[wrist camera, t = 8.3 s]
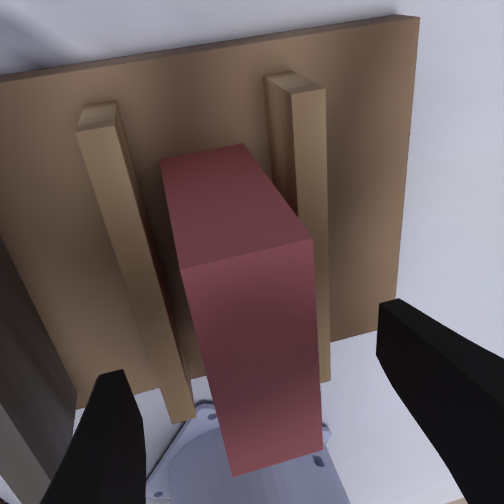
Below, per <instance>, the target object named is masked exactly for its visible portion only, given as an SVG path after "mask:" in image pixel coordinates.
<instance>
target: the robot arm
mask: <svg viewBox="0 0 504 504" xmlns="http://www.w3.org/2000/svg"><path fill="white" fill-rule="evenodd" d="M376 356H377V358H378V360H379V362H380V364H381V366H382V368H383V370H384V372H385V374H386V376H387V377H388V379H389V381H390V383H391V385H392V387H393V388H394V390H395V391H396V393H397V394H398V396H399V397H400V399H401V400H402V401H403V403H404V404H405V406H406V407H407V409H408V410H409V412H410V413H411V415H412V416H413V417H414V419H415V420H416V422H417V423H418V425H419V426H420V428H421V429H422V430H423V432H424V433H425V435H426V436H427V438H428V439H429V440H430V442H431V443H432V445H433V446H434V448H435V449H436V451H437V452H438V453H439V455H440V457H441V458H442V460H443V461H444V463H445V464H446V466H447V468H448V469H449V471H450V473H451V474H452V476H453V478H454V480H455V481H456V483H457V485H458V487H459V489H460V490H461V492H462V494H463V496H464V497H465V499H466V501H467V503H468V504H504V358H502V357H500V356H498V355H496V354H494V353H492V352H490V351H488V350H486V349H484V348H482V347H481V346H479V345H477V344H475V343H473V342H472V341H470V340H468V339H466V338H464V337H463V336H461V335H459V334H458V333H456V332H454V331H452V330H451V329H449V328H447V327H446V326H444V325H442V324H441V323H439V322H437V321H436V320H434V319H432V318H431V317H429V316H428V315H426V314H424V313H423V312H421V311H419V310H418V309H416V308H414V307H413V306H411V305H410V304H408V303H406V302H404V301H403V300H401V299H399V298H398V299H394V300H390V301H386V302H382V303H379V311H378V328H377V345H376ZM195 411H196V417H197V418H193V419H190V420H187V421H186V423H185V424H184V426H183V427H182V429H181V430H180V432H179V433H178V435H177V436H176V438H175V439H174V441H173V442H172V444H171V445H170V447H169V448H168V450H167V451H166V453H165V454H164V456H163V457H162V459H161V460H160V462H159V463H158V465H157V466H156V468H155V469H154V471H153V472H152V474H151V475H150V477H149V478H148V480H147V481H146V449H145V438H144V429H143V419H142V416H141V414H140V411H139V408H138V406H137V403H136V401H135V398H134V395H133V393H132V390H131V388H130V385H129V383H128V380H127V377H126V375H125V372H124V370H123V369H120V370H116V371H112V372H108V373H104V374H100V375H99V376H98V377H97V379H96V381H95V384H94V387H93V390H92V392H91V395H90V397H89V400H88V403H87V405H86V408H85V410H84V412H83V415H82V417H81V420H80V422H79V424H78V427H77V429H76V431H75V433H74V435H73V438H72V440H71V442H70V444H69V446H68V449H67V451H66V453H65V455H64V457H63V459H62V461H61V463H60V465H59V467H58V469H57V471H56V473H55V475H54V477H53V479H52V481H51V482H50V484H49V486H48V488H47V490H46V492H45V494H44V496H43V498H42V499H41V501H40V503H39V504H146V498H150V499H161V500H171V504H350V501H349V499H348V497H347V494H346V492H345V490H344V487H343V485H342V483H341V481H340V478H339V476H338V474H337V471H336V469H335V467H334V464H333V462H332V460H331V457H330V455H329V453H328V450H327V448H326V446H325V443H326V442H327V441H328V440H329V439H330V437H331V432H330V429H329V428H327V427H322V434H323V450H321V451H318V452H315V453H311V454H308V455H305V456H302V457H298V458H295V459H292V460H288V461H285V462H282V463H279V464H275V465H272V466H269V467H266V468H262V469H259V470H256V471H253V472H249V473H246V474H243V475H239V476H236V477H232V473H231V469H230V465H229V462H228V458H227V454H226V450H225V446H224V442H223V438H222V434H221V430H220V426H219V422H218V418H217V414H216V410H215V406H214V405H211V404H200V405H198V406H197V407H196V408H195ZM212 413H213V414H212Z"/></svg>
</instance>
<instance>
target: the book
mask: <svg viewBox="0 0 504 504" xmlns="http://www.w3.org/2000/svg"><path fill="white" fill-rule="evenodd" d="M159 162H160V168H161V173H162V178H163V183H164V189H165V194H166V199H167V205H168V210H169V215H170V220H171V226H172V231H173V236H174V242H175V247H176V252H177V257H178V263H179V268H180V272H181V276H182V280H183V284H184V288H185V292H186V296H187V300H188V304H189V308H190V312H191V316H192V320H193V324H194V328H195V331H196V335H197V339H198V343H199V347H200V351H201V355H202V359H203V363H204V367H205V371H206V375H207V379H208V383H209V387H210V391H211V395H212V398H213V402H214V406H215V410H216V414H217V418H218V422H219V426H220V430H221V434H222V438H223V442H224V446H225V450H226V454H227V458H228V462H229V465H230V469H231V473H232V477H236V476H239V475H243V474H246V473H249V472H253V471H256V470H259V469H262V468H266V467H269V466H272V465H275V464H279V463H282V462H285V461H288V460H292V459H295V458H298V457H302V456H305V455H308V454H311V453H315V452H318V451H321V450H323V434H322V413H321V392H320V372H319V351H318V330H317V309H316V289H315V268H314V247H313V238H312V236H311V235H310V234H309V232H308V231H307V229H306V228H305V227H304V225H303V224H302V223H301V221H300V220H299V219H298V217H297V216H296V214H295V213H294V212H293V210H292V209H291V208H290V206H289V205H288V203H287V202H286V201H285V199H284V198H283V197H282V195H281V194H280V193H279V191H278V190H277V188H276V187H275V186H274V184H273V183H272V182H271V180H270V179H269V178H268V176H267V175H266V173H265V172H264V171H263V169H262V168H261V167H260V165H259V164H258V163H257V161H256V160H255V158H254V157H253V156H252V154H251V153H250V152H249V150H248V149H247V148H246V146H245V145H244V143H241V144H236V145H231V146H226V147H221V148H216V149H211V150H206V151H201V152H196V153H191V154H186V155H181V156H176V157H170V158H165V159H160V160H159Z"/></svg>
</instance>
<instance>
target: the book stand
mask: <svg viewBox="0 0 504 504" xmlns="http://www.w3.org/2000/svg"><path fill="white" fill-rule="evenodd" d="M419 24H420V17H414V16H406V15H391V16H384V17H378V18H371V19H365V20H358V21H352V22H345V23H339V24H333V25H326V26H320V27H313V28H307V29H300V30H294V31H287V32H281V33H274V34H268V35H261V36H255V37H248V38H242V39H235V40H229V41H222V42H216V43H209V44H203V45H196V46H190V47H183V48H177V49H171V50H164V51H158V52H151V53H145V54H138V55H132V56H125V57H119V58H112V59H106V60H99V61H93V62H86V63H80V64H73V65H67V66H60V67H54V68H47V69H41V70H34V71H28V72H21V73H15V74H9V75H2V76H0V475H1V476H2V477H3V479H4V480H5V481H6V483H7V484H8V485H9V487H10V488H11V489H12V491H13V492H14V493H15V495H16V496H17V497H18V499H19V500H20V501H21V503H22V504H39V503H40V501H41V499H42V498H43V496H44V494H45V492H46V490H47V488H48V486H49V484H50V482H51V481H52V479H53V477H54V475H55V473H56V471H57V469H58V467H59V465H60V463H61V461H62V459H63V457H64V455H65V453H66V451H67V449H68V446H69V444H70V442H71V440H72V436H73V427H74V419H75V410H77V409H81V408H85V407H86V405H87V403H88V400H89V397H90V395H91V392H92V390H93V387H94V384H95V381H96V379H97V377H98V376H99V375H100V374H104V373H108V372H112V371H116V370H120V369H123V370H124V372H125V375H126V377H127V380H128V383H129V385H130V388H131V390H132V393H133V395H134V394H138V393H141V392H145V391H149V390H153V389H156V388H160V389H161V392H162V395H163V398H164V401H165V404H166V407H167V410H168V413H169V416H170V419H171V422H172V424H175V423H179V422H183V421H186V420H190V419H193V418H197V417H196V411H195V405H194V399H193V393H192V387H191V381H190V379H194V378H198V377H202V376H206V371H205V367H204V363H203V359H202V355H201V351H200V347H199V343H198V339H197V335H196V331H195V328H194V324H193V320H192V316H191V312H190V308H189V304H188V300H187V296H186V292H185V288H184V284H183V280H182V276H181V272H180V268H179V263H178V257H177V252H176V247H175V242H174V236H173V231H172V226H171V220H170V215H169V210H168V205H167V199H166V194H165V189H164V183H163V178H162V173H161V168H160V162H159V160H160V159H165V158H170V157H176V156H181V155H186V154H191V153H196V152H201V151H206V150H211V149H216V148H221V147H226V146H231V145H236V144H241V143H244V145H245V146H246V148H247V149H248V150H249V152H250V153H251V154H252V156H253V157H254V158H255V160H256V161H257V163H258V164H259V165H260V167H261V168H262V169H263V171H264V172H265V173H266V175H267V176H268V178H269V179H270V180H271V182H272V183H273V184H274V186H275V187H276V188H277V190H278V191H279V193H280V194H281V195H282V197H283V198H284V199H285V201H286V202H287V203H288V205H289V206H290V208H291V209H292V210H293V212H294V213H295V214H296V216H297V217H298V219H299V220H300V221H301V223H302V224H303V225H304V227H305V228H306V229H307V231H308V232H309V234H310V235H311V236H312V238H313V247H314V268H315V289H316V309H317V330H318V351H319V372H320V383H323V382H327V381H330V380H331V373H330V342H334V341H338V340H342V339H345V338H349V337H353V336H357V335H361V334H364V333H368V332H372V331H376V330H377V328H378V311H379V303H382V302H386V301H390V300H394V299H395V297H396V286H397V274H398V263H399V252H400V240H401V229H402V217H403V206H404V195H405V183H406V172H407V160H408V149H409V138H410V126H411V115H412V103H413V92H414V81H415V69H416V58H417V46H418V35H419Z"/></svg>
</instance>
